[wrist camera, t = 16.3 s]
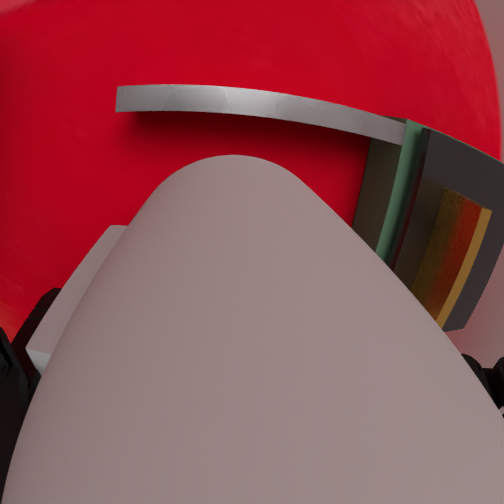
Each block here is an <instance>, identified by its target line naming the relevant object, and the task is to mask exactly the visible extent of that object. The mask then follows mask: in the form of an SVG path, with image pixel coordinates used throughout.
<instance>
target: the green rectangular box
mask: <svg viewBox="0 0 504 504" xmlns="http://www.w3.org/2000/svg"><path fill="white" fill-rule="evenodd" d="M379 116H381V115H379ZM382 117H386V118H389V119H392V120H395V121H398V122H401V123H404V124H407V127H406V133H405V139H404V144H403V146H402V145H398V144H395V143H391V142H388V141H384V140H380V139H377V138H373V137H371V141H370V146H369V152H368V157H367V162H366V167H365V172H364V177H363V181H362V186H361V191H360V195H359V199H358V204H357V208H356V212H355V216H354V220H353V224H352V229H353V231H354V232H355V233H356V234H357V235H358V236H359V237H360V238H361V239H362V240H363V241H364V242H365V243H366V244H367V245H368V246H369V247H370V248H371V249H372V250H373V251H374V252H375V253H376V254H377V255H378V256H379V257H380V259H381V260H382V261H383V262H384V263H385V264H387V261H388V259H389V256H390V253H391V250H392V246H393V243H394V240H395V237H396V234H397V230H398V227H399V224H400V220H401V217H402V213H403V210H404V206H405V202H406V198H407V195H408V191H409V187H410V182H411V178H412V174H413V169H414V165H415V160H416V155H417V150H418V145H419V140H420V134H421V128H422V127H423V128H428V129H432V128H429V127H427V126H424V125H421V124H419V123H416V122H414V121H411V120H408V119H403V118H397V117H389V116H382ZM432 130H434V129H432ZM434 131H436V130H434ZM437 132H439V131H437ZM439 133H441V132H439ZM441 134H444V133H441ZM444 135H446V134H444ZM446 136H448V135H446ZM448 137H450V136H448ZM451 138H453V137H451ZM453 139H455V138H453ZM455 140H457V139H455ZM457 141H459V140H457ZM459 142H461V141H459ZM462 143H463V142H462ZM464 144H466V143H464ZM466 145H468V144H466ZM468 146H470V145H468ZM470 147H472V146H470ZM472 148H474V147H472ZM474 149H476V148H474ZM476 150H478V149H476ZM478 151H480V150H478ZM480 152H482V151H480ZM482 153H484V152H482ZM484 154H485V153H484ZM486 155H487V154H486ZM488 156H489V155H488ZM490 157H491V156H490ZM491 158H493V157H491ZM493 159H495V158H493ZM495 160H497V159H495ZM497 161H498V160H497ZM499 162H500V161H499ZM501 163H502V162H501Z"/></svg>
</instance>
